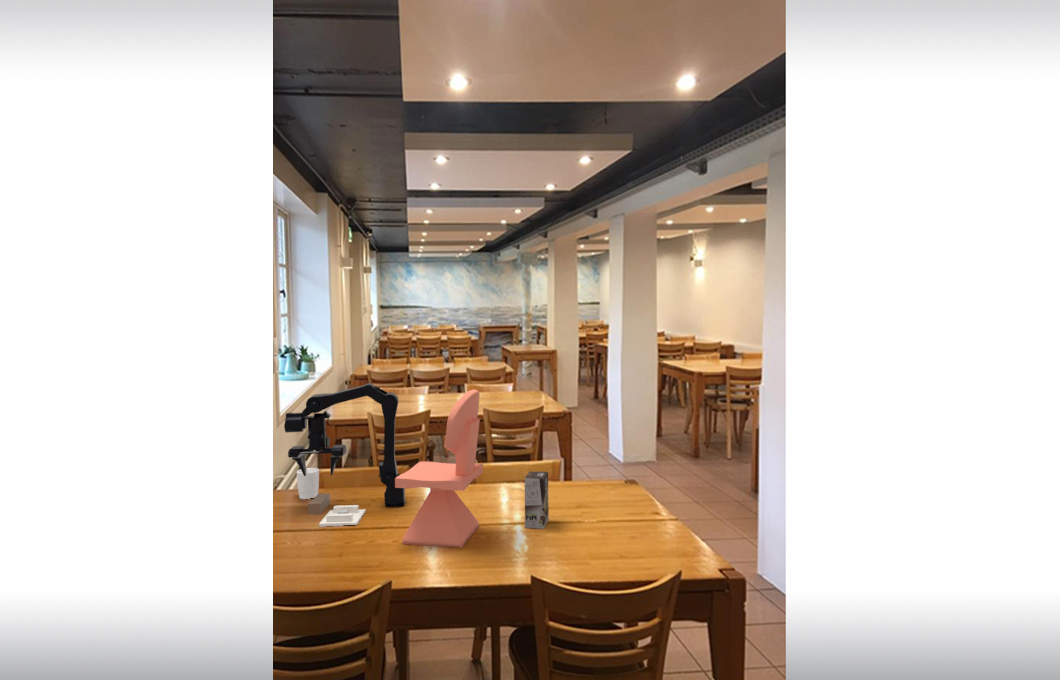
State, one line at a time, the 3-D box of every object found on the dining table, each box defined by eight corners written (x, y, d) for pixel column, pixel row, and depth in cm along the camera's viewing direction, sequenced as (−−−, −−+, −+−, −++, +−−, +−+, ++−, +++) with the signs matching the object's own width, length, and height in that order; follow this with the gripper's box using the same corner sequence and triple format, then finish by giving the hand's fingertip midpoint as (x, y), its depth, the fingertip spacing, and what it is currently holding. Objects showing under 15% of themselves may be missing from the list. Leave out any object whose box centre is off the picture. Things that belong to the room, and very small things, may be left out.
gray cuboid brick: (318, 504, 237) (318, 493, 236) (329, 504, 237) (329, 493, 236) (308, 515, 225) (308, 503, 224) (320, 515, 225) (319, 503, 224)
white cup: (315, 500, 241) (314, 473, 241) (294, 500, 241) (293, 473, 241) (322, 493, 249) (321, 467, 249) (302, 494, 249) (301, 467, 249)
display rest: (365, 512, 226) (365, 503, 226) (356, 525, 212) (356, 516, 212) (330, 513, 226) (330, 504, 226) (319, 526, 212) (318, 517, 212)
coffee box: (544, 529, 207) (543, 478, 206) (524, 528, 208) (523, 477, 207) (549, 519, 216) (548, 471, 215) (530, 518, 217) (529, 470, 216)
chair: (425, 519, 218) (422, 383, 216) (491, 522, 214) (488, 384, 211) (392, 549, 192) (388, 395, 189) (466, 554, 187) (463, 396, 185)
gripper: (349, 426, 238) (350, 468, 239) (296, 427, 237) (298, 470, 238) (342, 432, 227) (343, 476, 228) (286, 433, 226) (288, 478, 227)
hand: (318, 475), depth 230 cm, fingers open, 9 cm apart
